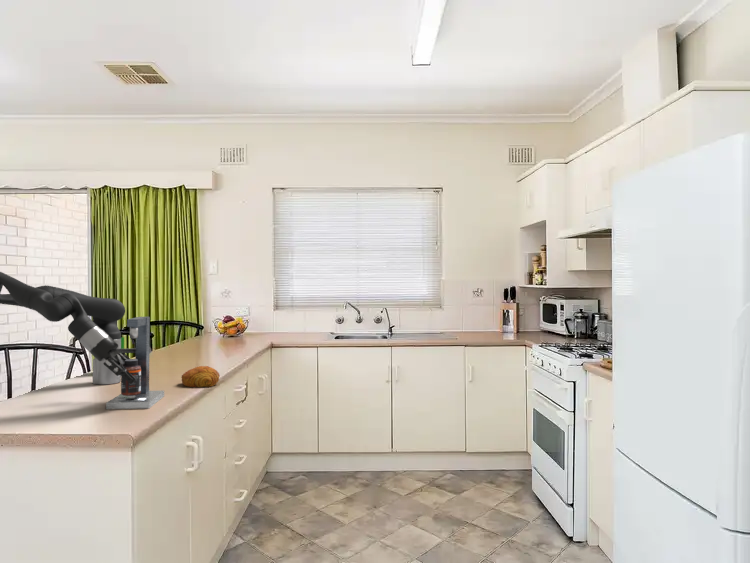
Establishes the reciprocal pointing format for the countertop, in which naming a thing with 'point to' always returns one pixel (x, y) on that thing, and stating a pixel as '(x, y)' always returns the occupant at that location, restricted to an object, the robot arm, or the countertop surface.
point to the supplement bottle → (135, 387)
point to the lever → (129, 350)
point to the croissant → (200, 377)
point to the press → (146, 397)
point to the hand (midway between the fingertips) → (136, 379)
